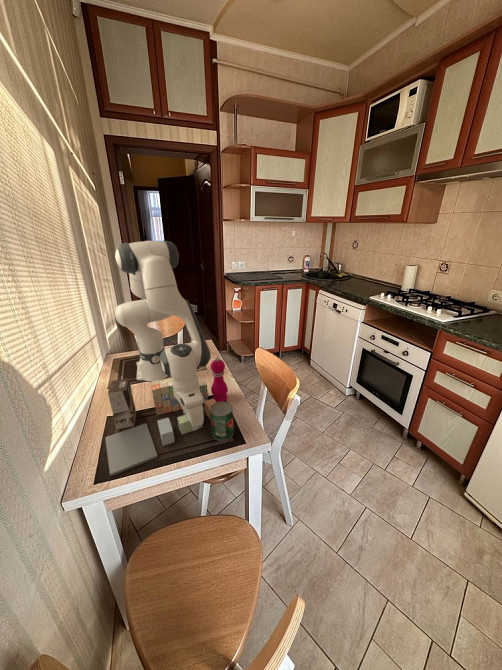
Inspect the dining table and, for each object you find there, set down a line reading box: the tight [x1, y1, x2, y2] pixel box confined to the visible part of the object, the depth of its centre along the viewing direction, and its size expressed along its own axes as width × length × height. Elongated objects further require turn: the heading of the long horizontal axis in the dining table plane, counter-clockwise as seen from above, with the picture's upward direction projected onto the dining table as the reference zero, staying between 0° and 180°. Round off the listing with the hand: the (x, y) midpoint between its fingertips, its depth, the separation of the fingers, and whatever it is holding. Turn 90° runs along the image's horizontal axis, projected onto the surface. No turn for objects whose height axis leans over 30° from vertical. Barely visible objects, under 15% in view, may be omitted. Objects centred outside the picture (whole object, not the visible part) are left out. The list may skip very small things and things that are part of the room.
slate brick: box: [157, 417, 176, 447], centre depth 97 cm, size 4×8×5 cm, turn 26°
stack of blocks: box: [150, 377, 209, 416], centre depth 112 cm, size 21×6×12 cm, turn 110°
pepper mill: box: [210, 356, 229, 402], centre depth 115 cm, size 7×7×20 cm
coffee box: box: [107, 377, 137, 430], centre depth 103 cm, size 9×6×16 cm
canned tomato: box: [210, 401, 235, 442], centre depth 97 cm, size 8×8×11 cm
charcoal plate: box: [104, 423, 159, 477], centre depth 92 cm, size 18×14×1 cm
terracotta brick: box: [203, 398, 217, 420], centre depth 107 cm, size 4×8×5 cm, turn 31°
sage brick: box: [177, 414, 204, 435], centre depth 101 cm, size 4×8×5 cm, turn 119°
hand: (190, 421), depth 100 cm, fingers open, 8 cm apart
